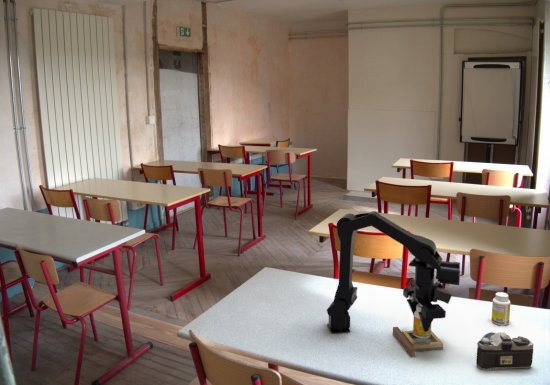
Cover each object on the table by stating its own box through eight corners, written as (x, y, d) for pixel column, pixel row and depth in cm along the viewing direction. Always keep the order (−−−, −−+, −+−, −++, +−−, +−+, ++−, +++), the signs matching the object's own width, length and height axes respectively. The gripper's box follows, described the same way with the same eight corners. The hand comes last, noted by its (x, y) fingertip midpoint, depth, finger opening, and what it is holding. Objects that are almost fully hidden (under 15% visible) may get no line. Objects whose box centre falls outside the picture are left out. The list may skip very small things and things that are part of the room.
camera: (516, 352, 150) (519, 321, 148) (534, 370, 140) (537, 338, 138) (465, 353, 149) (467, 323, 147) (480, 372, 139) (482, 339, 137)
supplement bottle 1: (411, 330, 158) (412, 302, 156) (428, 331, 158) (430, 302, 156) (414, 338, 153) (415, 309, 151) (432, 339, 152) (433, 309, 150)
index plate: (413, 352, 151) (413, 345, 150) (401, 337, 160) (402, 331, 159) (442, 349, 152) (443, 343, 151) (429, 335, 161) (430, 329, 160)
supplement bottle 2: (503, 318, 172) (505, 290, 170) (512, 325, 167) (514, 297, 165) (488, 319, 172) (490, 291, 170) (496, 326, 166) (498, 298, 164)
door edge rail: (410, 357, 148) (410, 349, 147) (392, 334, 162) (392, 327, 162) (415, 356, 148) (415, 349, 147) (397, 333, 162) (397, 326, 162)
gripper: (464, 290, 144) (460, 339, 147) (435, 268, 162) (433, 313, 165) (427, 292, 142) (425, 342, 145) (403, 270, 160) (401, 315, 163)
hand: (422, 327), depth 155 cm, fingers closed on supplement bottle 1, 5 cm apart
